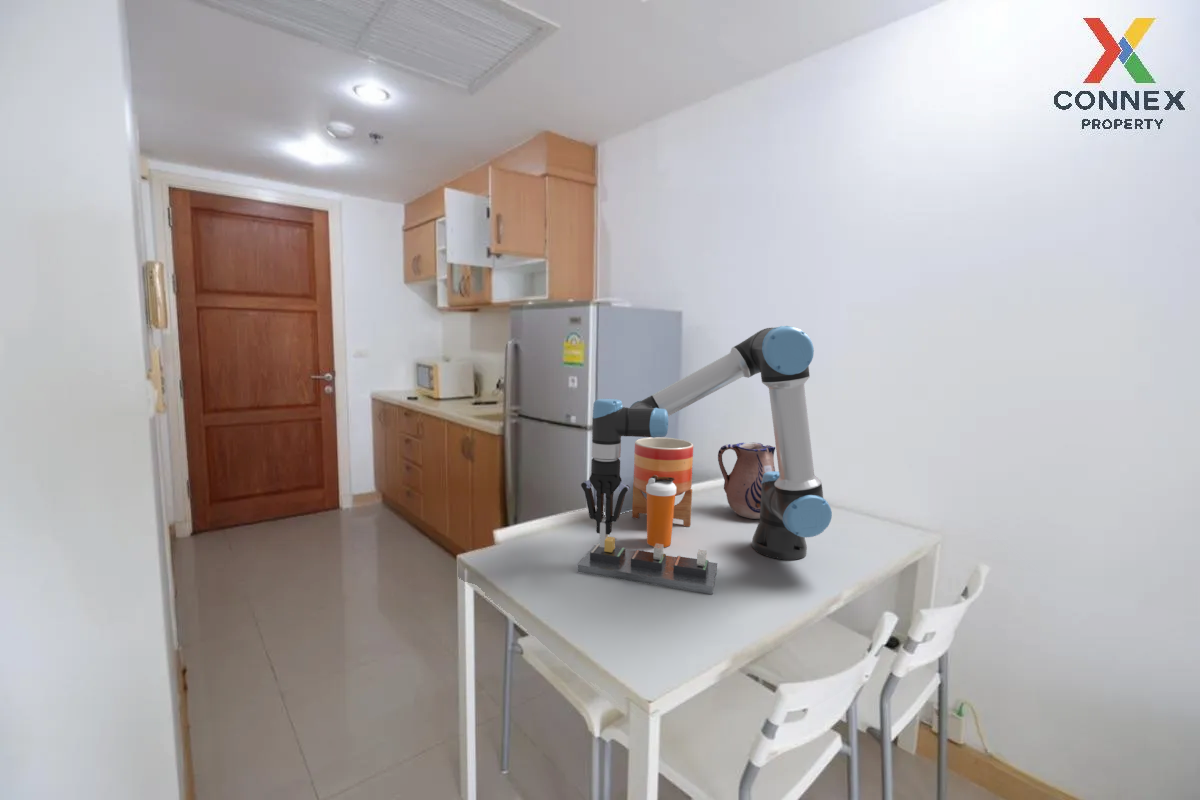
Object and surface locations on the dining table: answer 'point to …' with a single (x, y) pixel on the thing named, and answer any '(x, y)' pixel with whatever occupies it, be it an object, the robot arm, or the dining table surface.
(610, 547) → the toggle
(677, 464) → the planter
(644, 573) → the breaker panel
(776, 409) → the robot arm
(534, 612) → the dining table surface
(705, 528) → the dining table surface
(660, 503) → the shaker bottle
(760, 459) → the ceramic pitcher
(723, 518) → the dining table surface
